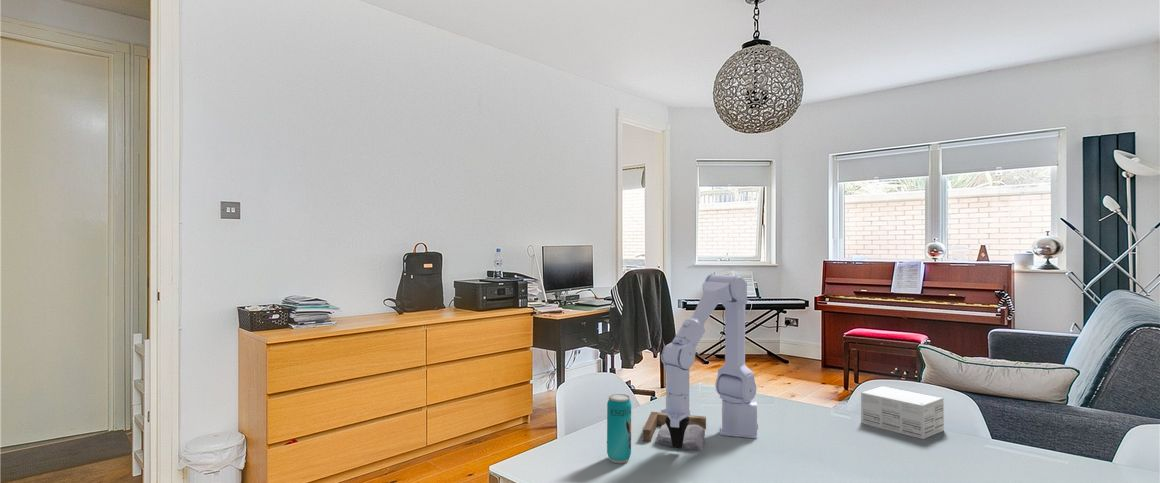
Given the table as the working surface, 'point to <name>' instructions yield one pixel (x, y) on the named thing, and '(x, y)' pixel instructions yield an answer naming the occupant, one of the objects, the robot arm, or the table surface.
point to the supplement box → (903, 411)
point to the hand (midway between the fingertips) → (677, 447)
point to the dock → (660, 418)
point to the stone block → (691, 437)
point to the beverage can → (619, 428)
